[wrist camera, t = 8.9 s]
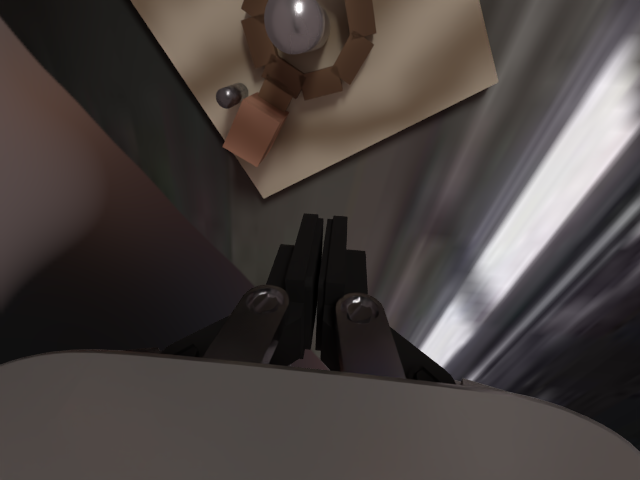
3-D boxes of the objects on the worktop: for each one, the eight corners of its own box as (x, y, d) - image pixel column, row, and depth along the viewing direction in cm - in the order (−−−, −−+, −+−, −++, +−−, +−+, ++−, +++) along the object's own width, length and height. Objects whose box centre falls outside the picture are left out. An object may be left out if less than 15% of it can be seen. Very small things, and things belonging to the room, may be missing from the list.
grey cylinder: (214, 65, 25) (164, 74, 19) (318, -8, 22) (302, -30, 15) (238, 104, 27) (199, 125, 20) (338, 40, 24) (332, 39, 17)
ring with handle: (283, -94, 20) (268, -122, 16) (400, -1, 22) (408, -8, 18) (205, 114, 27) (184, 124, 24) (298, 170, 29) (291, 187, 26)
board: (120, -28, 24) (109, -31, 23) (400, -295, 16) (403, -317, 15) (266, 193, 32) (263, 198, 31) (492, 80, 25) (498, 82, 24)
